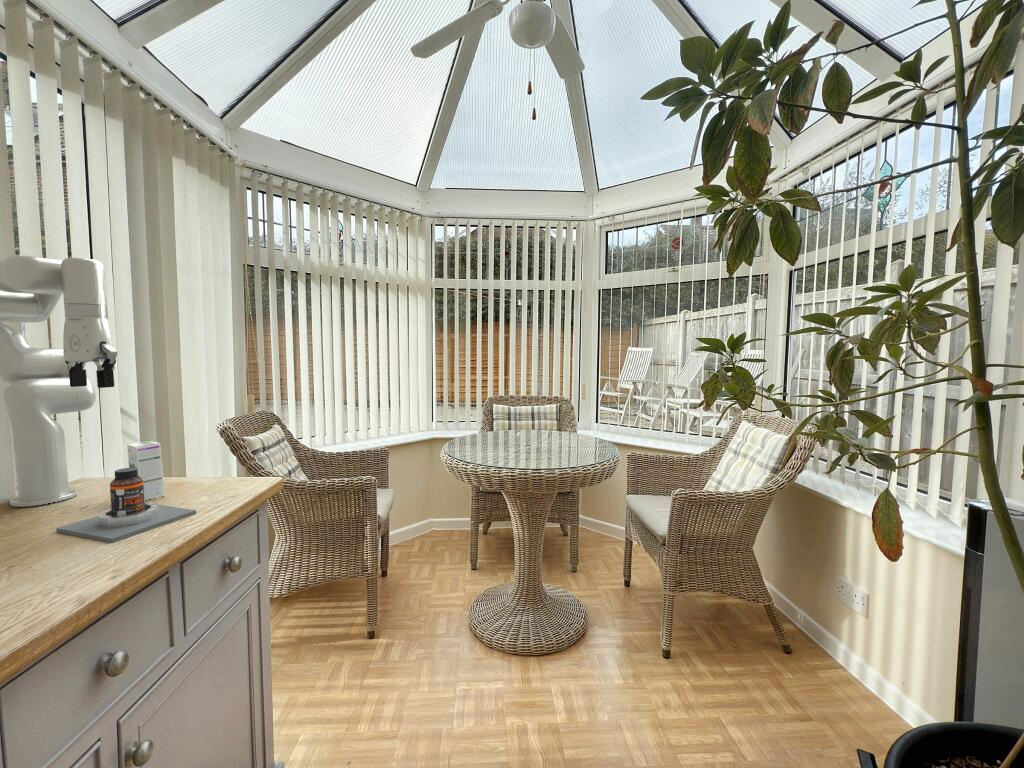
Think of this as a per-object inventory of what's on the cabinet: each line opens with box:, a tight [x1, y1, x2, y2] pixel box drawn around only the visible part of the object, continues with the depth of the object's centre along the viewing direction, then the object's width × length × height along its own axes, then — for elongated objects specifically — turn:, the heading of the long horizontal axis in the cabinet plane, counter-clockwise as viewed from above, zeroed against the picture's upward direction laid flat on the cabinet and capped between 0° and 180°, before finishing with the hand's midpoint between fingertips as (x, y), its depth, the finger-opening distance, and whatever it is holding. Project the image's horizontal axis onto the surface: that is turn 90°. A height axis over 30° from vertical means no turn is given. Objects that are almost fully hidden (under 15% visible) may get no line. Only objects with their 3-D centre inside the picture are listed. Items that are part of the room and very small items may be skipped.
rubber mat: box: [55, 504, 197, 543], centre depth 110 cm, size 18×18×1 cm
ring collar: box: [98, 501, 158, 528], centre depth 110 cm, size 10×10×2 cm
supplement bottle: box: [109, 467, 146, 517], centre depth 110 cm, size 6×6×11 cm
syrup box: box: [127, 440, 165, 501], centre depth 128 cm, size 6×6×14 cm
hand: (92, 386), depth 114 cm, fingers open, 9 cm apart
